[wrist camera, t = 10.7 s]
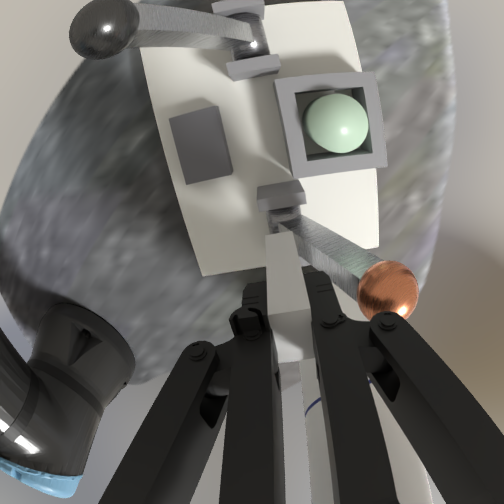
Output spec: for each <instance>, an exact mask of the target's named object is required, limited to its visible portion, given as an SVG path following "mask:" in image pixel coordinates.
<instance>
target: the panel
mask: <svg viewBox="0 0 504 504" xmlns="http://www.w3.org/2000/svg"><path fill="white" fill-rule="evenodd" d="M211 4H212V8H213V13H214V14H215V15H219V16H223V17H227V18H230V17H233V16H236V15H240V14H247V13H254V14H258V15H260V16H261V19H262V23H263V27H264V31H265V34H266V38H267V42H268V46H269V50H270V54H271V55H266V56H260V57H254V58H249V59H243V60H239V61H234V62H233V61H232V57H231V53H230V51H225V50H215V49H203V48H184V47H142V48H140V52H141V57H142V62H143V66H144V71H145V76H146V80H147V85H148V89H149V93H150V98H151V102H152V106H153V110H154V114H155V118H156V122H157V126H158V130H159V134H160V138H161V142H162V145H163V149H164V153H165V156H166V160H167V164H168V167H169V171H170V174H171V178H172V181H173V185H174V188H175V192H176V195H177V198H178V202H179V205H180V208H181V211H182V215H183V218H184V221H185V224H186V227H187V231H188V234H189V237H190V240H191V243H192V246H193V249H194V252H195V255H196V258H197V261H198V264H199V267H200V270H201V273H202V276H208V275H214V274H221V273H227V272H234V271H240V270H246V269H252V268H259V267H265V266H266V245H265V235H270V232H269V227H268V222H267V217H266V212H265V211H268V210H273V209H279V208H285V207H291V206H297V205H300V208H301V214H302V215H304V216H306V217H308V218H309V219H311V220H313V221H315V222H317V223H319V224H321V225H323V226H324V227H326V228H328V229H330V230H332V231H333V232H335V233H337V234H339V235H341V236H342V237H344V238H346V239H348V240H350V241H351V242H353V243H355V244H357V245H358V246H360V247H362V248H364V249H369V248H375V247H379V225H378V194H377V177H376V168H381V167H388V166H387V154H386V143H385V134H384V125H383V118H382V111H381V104H380V98H379V92H378V86H377V81H376V76H375V72H362V69H361V65H360V60H359V56H358V52H357V48H356V44H355V40H354V36H353V32H352V29H351V25H350V22H349V18H348V15H347V12H346V9H345V6H344V3H343V1H313V2H296V3H284V4H275V5H267V6H265V3H264V0H224V1H220V2H215V3H211ZM331 94H343V95H347V96H350V97H352V98H353V99H355V100H356V101H357V102H358V103H359V104H360V105H361V106H362V107H363V109H364V110H365V112H366V115H367V118H368V132H367V136H366V138H365V140H364V141H363V143H362V144H361V145H360V146H359V147H357V148H356V149H354V150H352V151H350V152H346V153H336V152H332V151H329V150H327V149H325V148H323V147H322V146H320V145H318V144H316V143H315V142H313V141H312V140H311V139H310V138H309V137H308V136H307V134H306V133H305V131H304V128H303V124H302V117H303V112H304V110H305V108H306V107H307V105H308V104H309V103H310V102H311V101H313V100H314V99H316V98H319V97H323V96H327V95H331ZM298 256H299V255H298ZM299 260H300V264H301V267H302V266H308V265H310V264H309V263H308V262H307V261H305V260H304V259H303V258H302V257H300V256H299Z"/></svg>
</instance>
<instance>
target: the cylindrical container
mask: <svg viewBox="0 0 504 504" xmlns="http://www.w3.org/2000/svg"><path fill="white" fill-rule="evenodd" d="M332 285H333V287H334V290H335V293H336V296H337V298H338V301H339V304H340V307H341V310H342V312H343V313H345V314H346V316H347V317H348V318H350V319H353V320H357V321H369V320H368V319H367V318H366V317H365V316H364V315H363V313H362V312H361V310H360V308H359V306H358V303H357V302H356V301H355V300H353V299H352V298H351V297H350V296H349V295H347V294H346V293H345V292H344V291H342V290H341V289H340V288H339V287H338V286H336V285H335V284H334V283H333V282H332ZM299 365H300V374H301V383H302V393H303V403H304V413H305V424H306V435H307V446H308V458H309V471H310V485H311V502H312V504H334V499H333V489H332V479H331V470H330V462H329V453H328V445H327V438H326V430H325V423H324V416H323V409H322V402H321V396H320V389H319V383H318V379H317V374H316V360H315V358H312V359H306V360H299ZM367 377H368V376H367ZM368 381H369V384H370V387H371V391H372V394H373V398H374V401H375V405H376V408H377V412H378V416H379V419H380V423H381V427H382V431H383V435H384V439H385V443H386V447H387V451H388V456H389V460H390V465H391V469H392V474H393V479H394V484H395V489H396V494H397V498H398V501H399V503H400V504H433V500H432V495H431V491H430V486H429V482H428V478H427V474H426V470H425V467H424V465H423V463H422V462H421V460H420V458H419V457H418V455H417V453H416V452H415V450H414V449H413V447H412V445H411V444H410V442H409V440H408V439H407V437H406V436H405V434H404V432H403V431H402V429H401V428H400V426H399V425H398V423H397V421H396V420H395V418H394V417H393V415H392V413H391V412H390V410H389V409H388V407H387V406H386V404H385V403H384V401H383V399H382V398H381V396H380V395H379V393H378V392H377V390H376V389H375V387H374V386H373V384H372V383H371V381H370V379H369V378H368Z"/></svg>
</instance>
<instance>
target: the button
mask: <svg viewBox="0 0 504 504" xmlns="http://www.w3.org/2000/svg"><path fill="white" fill-rule="evenodd" d="M302 124H303V128H304V131H305V133H306V134H307V136H308V137H309V138H310V139H311V140H312V141H313V142H315V143H316V144H318V145H320V146H322V147H323V148H325V149H327V150H329V151H332V152H336V153H346V152H350V151H352V150H354V149H356V148H357V147H359V146H360V145H361V144H362V143H363V141H364V140H365V138H366V136H367V132H368V118H367V115H366V112H365V110H364V109H363V107H362V106H361V105H360V104H359V103H358V102H357V101H356V100H355V99H353V98H352V97H350V96H347V95H343V94H331V95H327V96H323V97H319V98H316V99H314V100H313V101H311V102H310V103H309V104H308V105H307V107H306V108H305V110H304V112H303V117H302Z"/></svg>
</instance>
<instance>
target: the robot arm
mask: <svg viewBox="0 0 504 504" xmlns="http://www.w3.org/2000/svg"><path fill="white" fill-rule="evenodd" d="M265 245H266V274H267V281H263V282H256V283H250V284H247V286H246V287H245V289H244V290H243V297H242V299H243V300H242V307H241V308H239V309H237V310H235V311H234V312H233V313H232V314H231V316H230V318H229V322H230V325H231V328H232V331H233V333H234V338H233V339H231V340H230V341H228V342H226V343H223V344H220V345H217V346H215V347H214V345H213V344H212V343H210V342H207V341H197V342H194V343H192V344H190V345H189V346H187V347H186V348H185V349H184V351H183V352H182V354H181V355H180V357H179V359H178V361H177V362H176V364H175V366H174V368H173V370H172V371H171V373H170V375H169V377H168V378H167V380H166V382H165V384H164V385H163V387H162V389H161V391H160V392H159V395H158V396H157V398H156V400H155V401H154V403H153V405H152V407H151V409H150V410H149V412H148V414H147V416H146V417H145V419H144V421H143V423H142V425H141V426H140V428H139V430H138V432H137V434H136V436H135V437H134V439H133V441H132V443H131V444H130V446H129V448H128V450H127V452H126V453H125V455H124V457H123V459H122V461H121V463H120V465H119V466H118V468H117V470H116V472H115V474H114V475H113V478H112V479H111V481H110V483H109V485H108V486H107V488H106V490H105V492H104V494H103V496H102V498H101V499H100V501H99V503H98V504H190V501H191V499H192V496H193V494H194V492H195V489H196V487H197V485H198V482H199V480H200V478H201V475H202V473H203V470H204V468H205V465H206V463H207V461H208V458H209V456H210V453H211V450H212V448H213V446H214V443H215V441H216V438H217V436H218V433H219V431H220V428H221V425H222V423H223V420H224V418H225V415H226V412H227V418H226V429H225V439H224V450H223V463H222V474H221V485H220V497H219V504H286V501H285V468H284V443H283V418H282V400H281V380H280V371H279V367H278V362H279V363H286V362H293V361H299V360H306V359H312V358H315V360H316V374H317V379H318V383H319V389H320V396H321V402H322V409H323V416H324V423H325V430H326V438H327V445H328V453H329V462H330V470H331V479H332V489H333V499H334V504H400V503H399V501H398V498H397V494H396V489H395V484H394V479H393V474H392V469H391V465H390V460H389V456H388V451H387V447H386V443H385V439H384V435H383V431H382V427H381V423H380V419H379V416H378V412H377V408H376V405H375V401H374V398H373V394H372V391H371V387H370V384H369V381H368V378H369V379H370V381H371V383H372V384H373V386H374V387H375V389H376V390H377V392H378V393H379V395H380V396H381V398H382V399H383V401H384V403H385V404H386V406H387V407H388V409H389V410H390V412H391V413H392V415H393V417H394V418H395V420H396V421H397V423H398V425H399V426H400V428H401V429H402V431H403V432H404V434H405V436H406V437H407V439H408V440H409V442H410V444H411V445H412V447H413V449H414V450H415V452H416V453H417V455H418V457H419V458H420V460H421V462H422V463H423V465H424V467H425V468H426V470H427V471H428V473H429V475H430V476H431V478H432V480H433V482H434V483H435V485H436V487H437V488H438V490H439V492H440V494H441V495H442V497H443V499H444V500H445V502H446V504H504V435H503V434H502V433H501V431H500V430H499V428H498V427H497V426H496V424H495V423H494V422H493V421H492V419H491V418H490V417H489V415H488V414H487V413H486V411H485V410H484V409H483V408H482V406H481V405H480V404H479V403H478V401H477V400H476V399H475V398H474V396H473V395H472V394H471V393H470V392H469V391H468V389H467V388H466V387H465V386H464V384H463V383H462V382H461V381H460V380H459V379H458V377H457V376H456V375H455V374H454V373H453V372H452V371H451V369H450V368H449V367H448V366H447V365H446V364H445V363H444V361H443V360H442V359H441V358H440V357H439V356H438V355H437V353H436V352H435V351H434V350H433V349H432V348H431V347H430V346H429V345H428V344H427V342H425V340H424V339H423V338H422V337H421V336H420V335H419V334H418V333H417V332H416V331H415V330H414V328H413V327H412V326H411V325H410V324H409V323H408V322H407V321H406V320H405V319H404V318H403V317H402V316H401V315H399V314H398V313H395V312H392V311H383V312H379V313H377V314H375V315H374V316H373V317H372V318H371V320H370V321H357V320H353V319H350V318H348V317H347V316H346V314H345V313H343V312H342V310H341V307H340V304H339V301H338V298H337V296H336V293H335V290H334V287H333V285H332V282H331V279H330V277H329V275H328V274H326V273H325V272H324V271H318V272H312V273H306V274H303V273H302V268H301V264H300V260H299V256H298V252H297V248H296V244H295V240H294V236H293V232H292V231H288V232H282V233H276V234H270V235H265ZM134 369H135V358H134V355H133V353H132V351H131V349H130V347H129V346H128V344H127V343H126V341H125V340H124V339H123V338H122V336H121V335H120V334H119V333H118V332H117V331H116V330H115V329H114V328H113V327H111V326H110V325H109V324H108V323H107V322H105V321H104V320H103V319H101V318H100V317H98V316H97V315H95V314H93V313H92V312H90V311H88V310H86V309H84V308H81V307H78V306H75V305H71V304H57V305H54V306H52V307H51V308H50V309H49V310H48V312H47V313H46V314H45V315H44V317H43V318H42V320H41V322H40V325H39V329H38V332H37V336H36V339H35V343H34V347H33V351H32V355H31V357H30V359H29V361H28V362H27V363H26V362H25V361H24V360H23V358H22V357H21V356H20V355H19V353H18V352H17V350H16V349H15V348H14V347H13V345H12V344H11V342H10V341H9V340H8V338H7V337H6V335H5V334H4V332H3V331H2V330H1V328H0V470H2V471H4V472H5V473H7V474H8V475H10V476H12V477H14V478H16V479H18V480H19V481H21V482H22V483H24V484H26V485H28V486H30V487H32V488H35V489H37V490H39V491H41V492H44V493H46V494H49V495H52V496H56V497H59V498H69V497H71V496H72V495H73V494H74V493H75V491H76V488H77V485H78V483H79V480H80V479H81V478H82V476H83V472H84V468H85V465H86V462H87V459H88V455H89V452H90V449H91V446H92V443H93V440H94V437H95V434H96V431H97V428H98V425H99V423H100V420H101V417H102V415H103V412H104V410H105V408H106V407H107V406H108V404H110V402H111V401H112V400H113V399H114V398H115V397H116V396H117V395H118V393H119V392H120V391H121V389H123V388H124V387H126V386H127V384H128V383H129V381H130V379H131V377H132V374H133V372H134ZM367 376H368V377H367Z"/></svg>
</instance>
